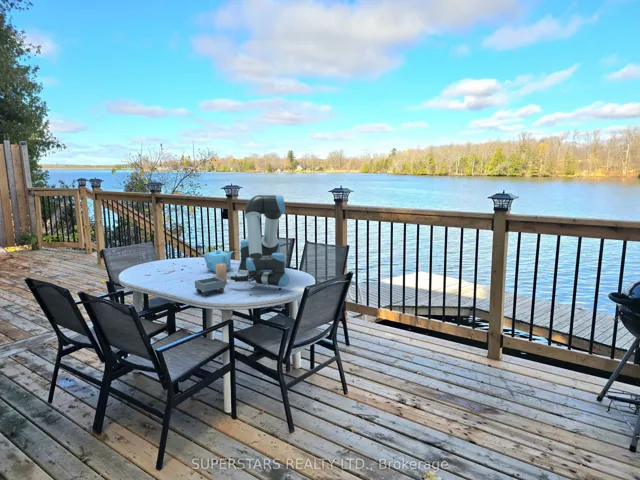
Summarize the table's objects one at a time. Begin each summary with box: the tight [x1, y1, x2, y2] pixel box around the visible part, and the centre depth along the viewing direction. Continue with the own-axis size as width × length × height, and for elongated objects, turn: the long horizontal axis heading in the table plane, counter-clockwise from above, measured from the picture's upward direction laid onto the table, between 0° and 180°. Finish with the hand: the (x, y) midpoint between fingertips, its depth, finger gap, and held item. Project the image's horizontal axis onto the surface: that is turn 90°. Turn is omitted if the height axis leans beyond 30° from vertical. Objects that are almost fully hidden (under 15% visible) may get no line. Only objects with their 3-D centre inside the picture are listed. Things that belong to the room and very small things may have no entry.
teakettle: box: [201, 249, 235, 274], centre depth 276 cm, size 19×19×15 cm
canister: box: [215, 263, 228, 285], centre depth 246 cm, size 6×6×12 cm
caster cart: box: [194, 276, 226, 297], centre depth 226 cm, size 13×11×7 cm
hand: (233, 274), depth 242 cm, fingers open, 13 cm apart
